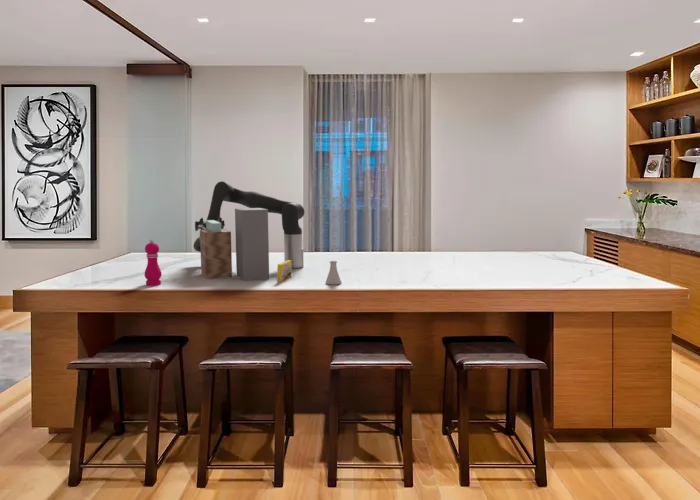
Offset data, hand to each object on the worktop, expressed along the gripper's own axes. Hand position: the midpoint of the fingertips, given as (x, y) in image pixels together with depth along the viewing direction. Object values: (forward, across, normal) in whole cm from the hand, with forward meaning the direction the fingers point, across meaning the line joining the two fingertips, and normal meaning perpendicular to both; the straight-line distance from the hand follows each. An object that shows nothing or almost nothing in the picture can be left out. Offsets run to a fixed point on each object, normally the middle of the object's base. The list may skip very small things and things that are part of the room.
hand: (211, 219), depth 319 cm
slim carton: (+3, 0, +7) cm, 8 cm away
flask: (+33, +44, +50) cm, 75 cm away
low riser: (-4, 0, +28) cm, 28 cm away
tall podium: (+6, +15, +34) cm, 37 cm away
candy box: (+17, +27, +41) cm, 52 cm away
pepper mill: (+8, -30, +36) cm, 47 cm away
